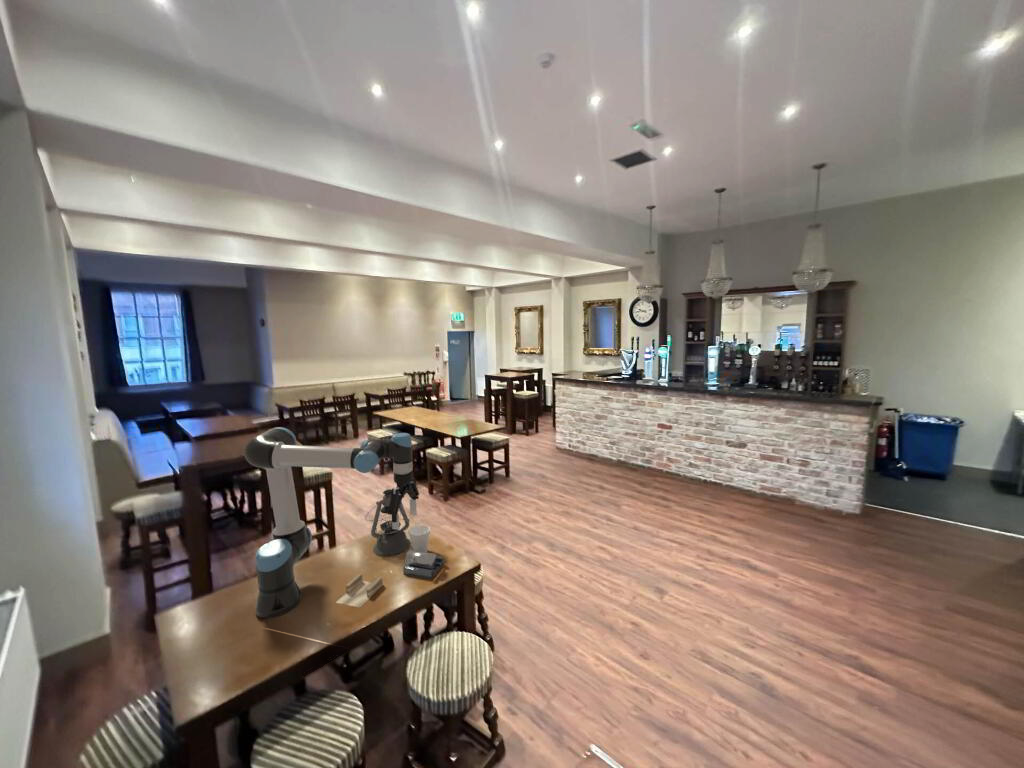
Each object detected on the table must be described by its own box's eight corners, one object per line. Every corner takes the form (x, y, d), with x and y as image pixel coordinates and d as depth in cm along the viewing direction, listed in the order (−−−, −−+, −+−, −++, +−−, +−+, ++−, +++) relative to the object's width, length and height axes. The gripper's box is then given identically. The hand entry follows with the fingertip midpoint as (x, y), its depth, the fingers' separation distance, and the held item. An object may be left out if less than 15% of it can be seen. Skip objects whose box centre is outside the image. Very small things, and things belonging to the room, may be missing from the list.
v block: (403, 575, 169) (403, 567, 169) (417, 560, 180) (417, 553, 179) (431, 580, 165) (431, 572, 165) (444, 564, 176) (443, 557, 176)
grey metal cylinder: (430, 572, 168) (430, 558, 167) (405, 568, 172) (404, 554, 171) (437, 564, 174) (436, 551, 173) (412, 560, 177) (412, 547, 177)
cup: (426, 559, 181) (425, 536, 179) (405, 557, 183) (404, 534, 181) (434, 547, 190) (433, 525, 189) (415, 545, 192) (413, 523, 191)
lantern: (393, 531, 206) (389, 475, 202) (419, 543, 194) (416, 483, 190) (362, 547, 192) (357, 487, 188) (388, 560, 180) (383, 497, 176)
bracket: (335, 603, 152) (334, 595, 152) (359, 581, 166) (358, 573, 165) (360, 608, 149) (359, 600, 149) (382, 585, 162) (382, 577, 162)
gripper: (394, 483, 150) (396, 537, 153) (426, 462, 174) (427, 509, 177) (376, 481, 152) (379, 534, 155) (410, 461, 176) (412, 507, 179)
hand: (405, 521), depth 166 cm, fingers open, 13 cm apart
